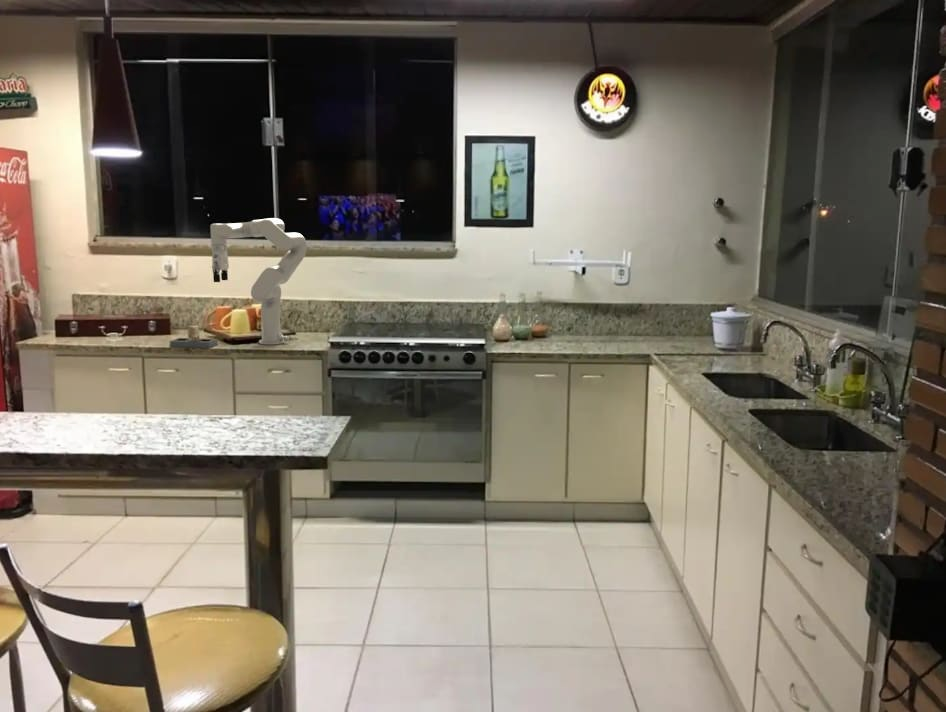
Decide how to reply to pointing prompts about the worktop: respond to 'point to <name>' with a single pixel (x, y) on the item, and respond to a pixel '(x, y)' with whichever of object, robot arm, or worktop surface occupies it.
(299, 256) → the robot arm
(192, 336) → the beech peg
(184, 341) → the grey compartment tray
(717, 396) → the worktop surface
